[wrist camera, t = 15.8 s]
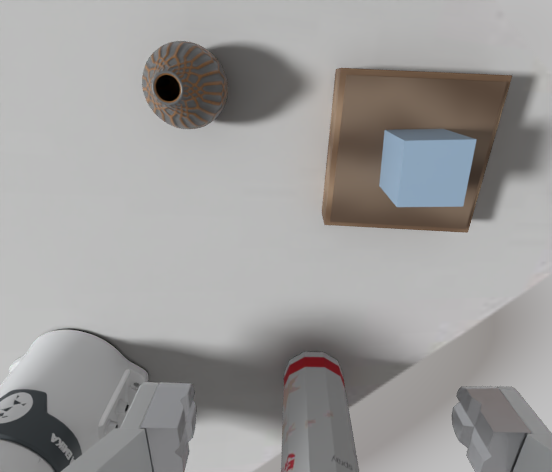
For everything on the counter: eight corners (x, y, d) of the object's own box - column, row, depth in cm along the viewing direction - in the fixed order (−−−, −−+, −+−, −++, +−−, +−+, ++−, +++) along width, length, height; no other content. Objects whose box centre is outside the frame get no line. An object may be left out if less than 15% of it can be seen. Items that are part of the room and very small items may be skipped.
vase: (244, 107, 34) (230, 115, 26) (182, 135, 36) (151, 151, 28) (212, 32, 32) (185, 15, 24) (147, 65, 33) (101, 60, 25)
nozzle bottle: (347, 388, 48) (397, 665, 25) (295, 399, 50) (298, 673, 27) (332, 345, 45) (372, 613, 23) (277, 358, 47) (262, 624, 24)
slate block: (434, 185, 32) (463, 206, 27) (379, 185, 33) (396, 207, 27) (443, 128, 30) (476, 139, 25) (384, 129, 31) (404, 140, 25)
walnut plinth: (452, 219, 38) (469, 234, 34) (321, 212, 38) (324, 226, 35) (489, 76, 32) (515, 75, 29) (335, 69, 33) (341, 67, 29)
